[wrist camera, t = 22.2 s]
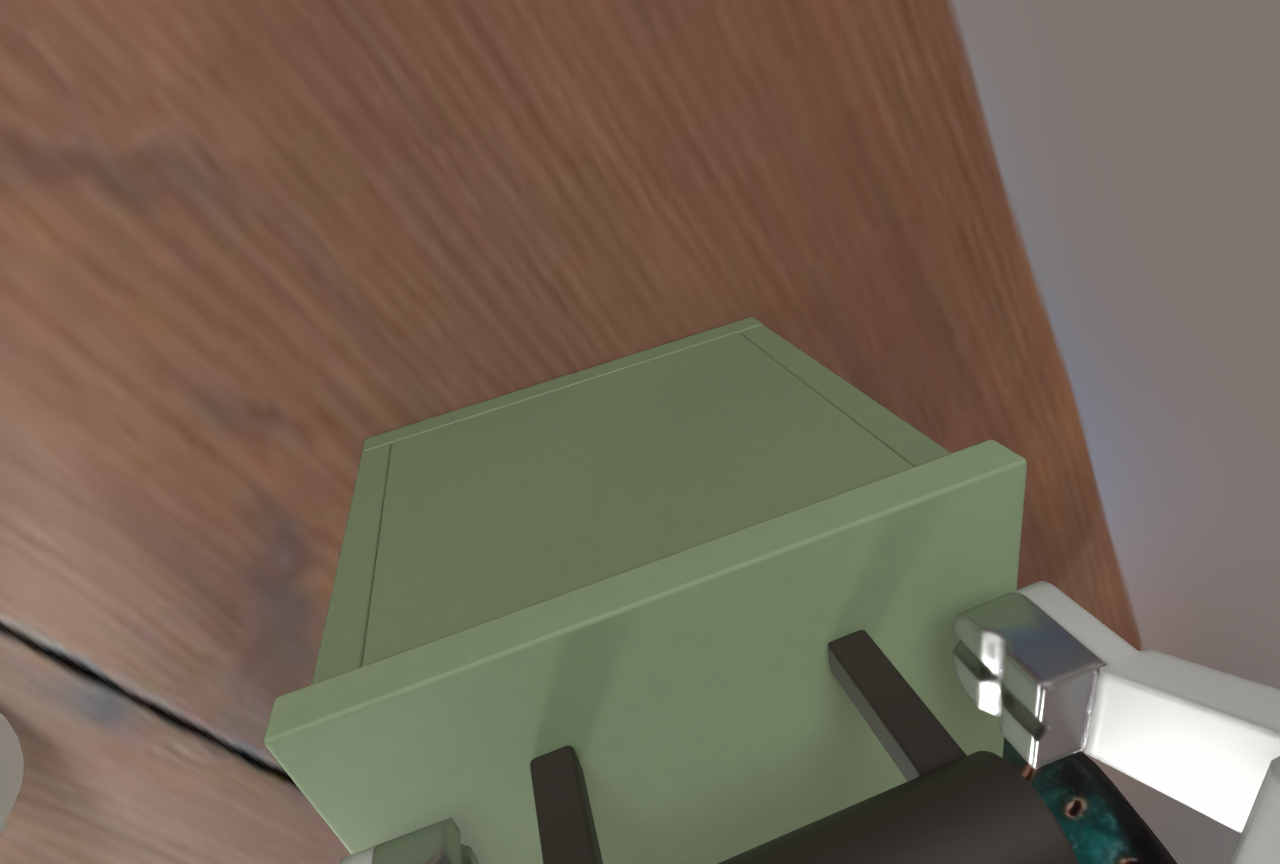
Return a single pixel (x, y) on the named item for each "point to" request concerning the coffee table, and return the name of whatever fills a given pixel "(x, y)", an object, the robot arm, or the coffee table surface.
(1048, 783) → the ceramic cat
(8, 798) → the white elongated piece
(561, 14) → the coffee table surface
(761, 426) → the chest
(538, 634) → the lid
